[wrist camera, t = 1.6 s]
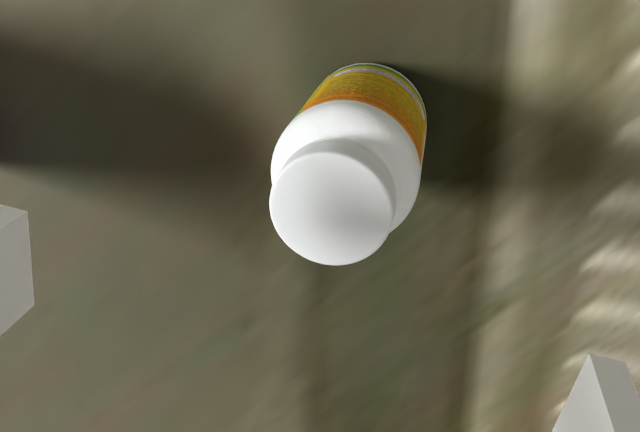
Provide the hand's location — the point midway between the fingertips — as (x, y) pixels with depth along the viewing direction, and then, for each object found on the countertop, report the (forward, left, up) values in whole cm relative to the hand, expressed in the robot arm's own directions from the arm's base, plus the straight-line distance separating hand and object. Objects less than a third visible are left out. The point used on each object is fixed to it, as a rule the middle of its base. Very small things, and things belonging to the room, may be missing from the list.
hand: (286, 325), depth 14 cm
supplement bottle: (0, 0, -16) cm, 16 cm away
